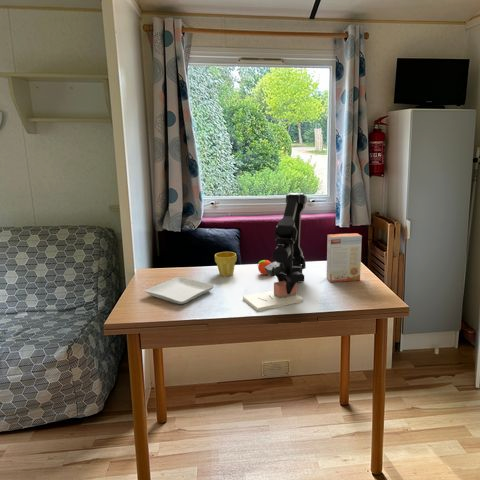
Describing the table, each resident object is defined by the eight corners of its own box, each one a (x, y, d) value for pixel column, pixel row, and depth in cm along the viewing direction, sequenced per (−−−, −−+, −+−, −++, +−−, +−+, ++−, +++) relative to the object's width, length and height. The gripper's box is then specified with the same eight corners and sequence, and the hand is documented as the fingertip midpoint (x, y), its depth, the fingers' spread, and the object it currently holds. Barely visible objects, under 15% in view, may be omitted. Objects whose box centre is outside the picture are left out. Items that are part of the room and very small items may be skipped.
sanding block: (290, 290, 165) (290, 279, 164) (296, 294, 161) (296, 282, 160) (273, 294, 162) (273, 282, 161) (279, 298, 158) (279, 286, 157)
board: (285, 290, 169) (285, 288, 169) (302, 301, 158) (302, 298, 157) (242, 299, 161) (242, 296, 161) (257, 311, 150) (257, 308, 149)
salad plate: (216, 291, 170) (215, 284, 170) (182, 309, 154) (182, 301, 153) (179, 282, 182) (178, 275, 181) (144, 298, 165) (143, 290, 164)
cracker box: (355, 276, 184) (357, 232, 179) (360, 281, 179) (362, 235, 173) (325, 278, 183) (327, 233, 178) (329, 282, 178) (331, 236, 173)
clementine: (259, 277, 186) (259, 263, 184) (253, 273, 192) (253, 259, 190) (275, 275, 188) (275, 260, 187) (268, 271, 195) (268, 257, 193)
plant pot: (211, 276, 189) (210, 256, 187) (220, 269, 198) (220, 250, 196) (231, 278, 185) (231, 258, 183) (240, 271, 194) (239, 252, 192)
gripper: (256, 252, 162) (257, 288, 166) (279, 264, 146) (279, 304, 150) (280, 248, 167) (280, 283, 171) (305, 260, 150) (304, 298, 154)
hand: (285, 292), depth 161 cm, fingers closed on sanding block, 4 cm apart
